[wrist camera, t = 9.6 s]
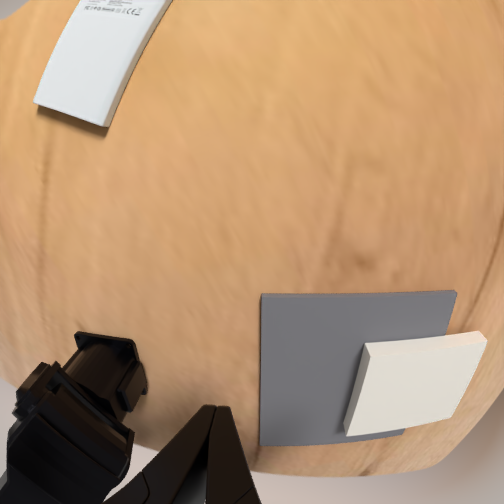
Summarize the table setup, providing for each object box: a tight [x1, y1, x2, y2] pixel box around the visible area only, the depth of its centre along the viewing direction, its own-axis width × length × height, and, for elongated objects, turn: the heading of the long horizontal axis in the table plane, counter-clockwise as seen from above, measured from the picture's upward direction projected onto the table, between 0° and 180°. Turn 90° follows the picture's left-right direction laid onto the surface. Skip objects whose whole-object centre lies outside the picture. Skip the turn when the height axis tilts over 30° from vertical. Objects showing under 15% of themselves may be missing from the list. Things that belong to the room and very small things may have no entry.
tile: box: [343, 331, 488, 436], centre depth 22 cm, size 2×10×12 cm
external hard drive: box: [33, 0, 172, 127], centre depth 16 cm, size 2×8×12 cm
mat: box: [260, 290, 457, 446], centre depth 24 cm, size 16×18×1 cm
